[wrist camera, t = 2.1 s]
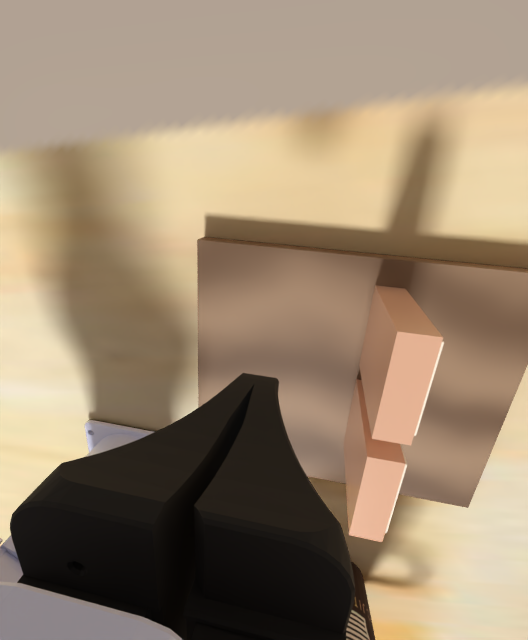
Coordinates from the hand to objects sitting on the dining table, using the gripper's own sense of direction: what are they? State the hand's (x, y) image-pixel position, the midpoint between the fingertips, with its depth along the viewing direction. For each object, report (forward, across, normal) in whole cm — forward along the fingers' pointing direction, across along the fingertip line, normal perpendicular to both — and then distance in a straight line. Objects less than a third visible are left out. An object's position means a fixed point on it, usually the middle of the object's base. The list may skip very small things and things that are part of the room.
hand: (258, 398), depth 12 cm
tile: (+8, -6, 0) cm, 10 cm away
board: (+10, -4, +4) cm, 11 cm away
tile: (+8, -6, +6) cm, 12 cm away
